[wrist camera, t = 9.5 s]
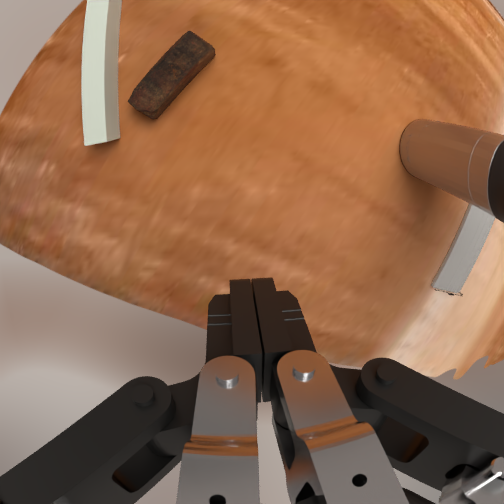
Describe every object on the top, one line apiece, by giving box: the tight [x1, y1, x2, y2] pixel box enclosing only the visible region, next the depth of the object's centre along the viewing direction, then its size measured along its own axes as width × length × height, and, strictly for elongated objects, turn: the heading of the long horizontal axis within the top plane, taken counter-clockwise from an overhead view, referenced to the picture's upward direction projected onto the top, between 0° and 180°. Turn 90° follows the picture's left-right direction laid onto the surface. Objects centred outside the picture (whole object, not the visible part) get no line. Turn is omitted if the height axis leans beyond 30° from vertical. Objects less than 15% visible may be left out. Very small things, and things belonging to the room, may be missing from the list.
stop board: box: [82, 0, 122, 146], centre depth 24 cm, size 3×20×4 cm, turn 0°
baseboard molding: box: [431, 203, 495, 296], centre depth 41 cm, size 31×3×12 cm
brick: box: [128, 31, 215, 119], centre depth 26 cm, size 11×4×5 cm, turn 137°
